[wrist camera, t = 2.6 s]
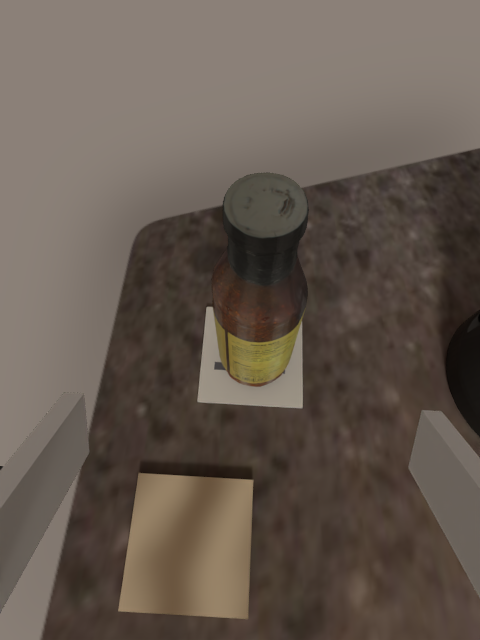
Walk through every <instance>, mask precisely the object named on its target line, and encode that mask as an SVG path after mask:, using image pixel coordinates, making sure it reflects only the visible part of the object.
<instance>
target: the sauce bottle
mask: <svg viewBox="0 0 480 640" xmlns="http://www.w3.org/2000/svg"><path fill="white" fill-rule="evenodd" d="M308 211H309V209H308V200H307V198H306V195H305V193H304V191H303V190H302V189H301V188H300V186H299V185H298V184H297V183H296V182H295V181H293V180H291V179H290V178H288V177H286V176H283V175H279V174H274V173H256V174H250V175H247V176H245V177H243V178H241V179H239V180H237V181H236V182H235V183H234V184H233V185H232V186H231V187H230V188H229V189H228V191H227V193H226V195H225V197H224V201H223V225H224V229H225V231H226V233H227V235H228V246H227V248H226V250H225V251H224V253H223V255H222V256H221V258H220V260H219V261H218V263H217V264H216V266H215V268H214V270H213V275H212V293H213V313H214V320H215V326H216V334H217V341H218V348H219V356H220V359H221V362H222V364H223V366H224V368H225V369H226V371H227V372H228V374H229V376H230V377H231V378H232V379H233V380H235V381H237V382H238V383H240V384H243V385H248V386H254V387H261V386H264V385H267V384H269V383H271V382H273V381H275V380H276V379H277V378H279V377H280V376H281V375H282V373H283V372H284V370H285V369H286V367H287V365H288V364H289V361H290V358H291V355H292V352H293V348H294V345H295V341H296V338H297V335H298V332H299V328H300V325H301V322H302V318H303V314H304V311H305V307H306V303H307V296H308V287H307V282H306V278H305V275H304V273H303V270H302V267H301V264H300V262H299V259H298V256H297V248H298V244H299V240H300V239H301V238H302V236H303V235H304V233H305V230H306V227H307V221H308Z"/></svg>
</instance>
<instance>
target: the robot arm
mask: <svg viewBox="0 0 480 640" xmlns="http://www.w3.org/2000/svg"><path fill="white" fill-rule="evenodd" d="M446 367H447V378H448V383H449V386H450V390H451V393H452V396H453V398H454V400H455V403H456V405H457V407H458V409H459V410H460V412H461V414H462V415H463V417H464V418H465V420H466V421H467V423H468V424H469V425H470V426H471V428H472V429H473V430H474V431H475V432H476V433H477V434H478V435H479V436H480V310H479V311H477V312H476V313H475V314H474V315H472V316H471V317H470V318H468V319H467V320H466V321H465V322H464V323H463V324H462V325H461V326H460V327H459V328H458V329H457V331H456V332H455V334H454V336H453V338H452V340H451V342H450V345H449V348H448V353H447V364H446ZM88 454H89V443H88V432H87V421H86V410H85V399H84V393H69V392H64V393H63V394H62V396H61V397H60V398H59V399H58V400H57V402H56V403H55V404H54V406H53V407H52V408H51V409H50V410H49V411H48V413H47V414H46V415H45V416H44V418H43V419H42V420H41V421H40V423H39V424H38V425H37V426H36V427H35V429H34V430H33V431H32V432H31V433H30V435H29V436H28V437H27V438H26V440H25V441H24V442H23V443H22V444H21V446H20V447H19V448H18V449H17V451H16V452H15V453H14V455H12V457H11V458H10V459H9V460H8V462H7V463H6V464H5V465H4V466H0V613H1V611H2V609H3V607H4V605H5V604H6V602H7V600H8V598H9V596H10V594H11V593H12V591H13V589H14V587H15V586H16V584H17V582H18V580H19V578H20V577H21V575H22V573H23V571H24V569H25V568H26V566H27V564H28V562H29V560H30V559H31V557H32V555H33V553H34V551H35V549H36V548H37V546H38V544H39V542H40V540H41V539H42V537H43V535H44V533H45V531H46V529H47V528H48V526H49V524H50V522H51V520H52V519H53V517H54V515H55V513H56V511H57V510H58V508H59V506H60V504H61V503H62V501H63V499H64V497H65V495H66V493H67V492H68V490H69V488H70V486H71V484H72V482H73V481H74V479H75V477H76V475H77V474H78V472H79V470H80V468H81V466H82V465H83V463H84V461H85V459H86V457H87V456H88ZM408 468H409V470H410V472H411V474H412V476H413V477H414V479H415V481H416V483H417V485H418V487H419V488H420V490H421V492H422V494H423V496H424V497H425V499H426V501H427V503H428V505H429V507H430V508H431V510H432V512H433V514H434V516H435V518H436V519H437V521H438V523H439V525H440V527H441V528H442V530H443V532H444V534H445V536H446V538H447V539H448V541H449V543H450V545H451V547H452V548H453V550H454V552H455V554H456V556H457V558H458V559H459V561H460V563H461V565H462V567H463V568H464V570H465V572H466V574H467V576H468V578H469V579H470V581H471V583H472V585H473V587H474V589H475V590H476V592H477V594H478V596H479V598H480V458H479V457H478V455H477V454H476V453H475V452H474V450H473V449H472V448H471V447H470V446H469V444H468V443H467V442H466V441H465V439H464V438H463V437H462V436H461V435H460V433H459V432H458V431H457V430H456V428H455V427H454V426H453V425H452V424H451V422H450V421H449V420H448V419H447V417H446V416H445V415H444V414H443V413H442V411H427V410H422V412H421V416H420V420H419V424H418V429H417V433H416V437H415V442H414V446H413V450H412V454H411V459H410V463H409V467H408Z"/></svg>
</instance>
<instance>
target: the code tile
mask: <svg viewBox="0 0 480 640" xmlns="http://www.w3.org/2000/svg"><path fill="white" fill-rule="evenodd" d="M197 402H204V403H221V404H237V405H254V406H271V407H287V408H303V376H302V322H301V325H300V328H299V332H298V335H297V338H296V341H295V345H294V348H293V352H292V355H291V358H290V361H289V364H288V365H287V367H286V369H285V370H284V372H283V373H282V375H281V376H280V377H279V378H277V379H276V380H275V381H273V382H271V383H269V384H267V385H264V386H261V387H254V386H248V385H243V384H240V383H238V382H237V381H235V380H233V379H232V378H231V377H230V376H229V374H228V372H227V371H226V369H225V368H224V366H223V364H222V362H221V359H220V356H219V348H218V341H217V334H216V326H215V320H214V313H213V307H207V309H206V319H205V329H204V339H203V349H202V359H201V370H200V380H199V390H198V400H197Z"/></svg>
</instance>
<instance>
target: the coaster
mask: <svg viewBox="0 0 480 640" xmlns="http://www.w3.org/2000/svg"><path fill="white" fill-rule="evenodd" d="M252 500H253V480H246V479H229V478H213V477H196V476H179V475H162V474H146V473H139V475H138V481H137V488H136V495H135V502H134V509H133V515H132V522H131V529H130V536H129V542H128V549H127V556H126V563H125V569H124V576H123V583H122V590H121V596H120V603H119V610H118V611H124V612H141V613H158V614H175V615H191V616H208V617H225V618H242V619H248V605H249V579H250V552H251V526H252Z"/></svg>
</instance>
